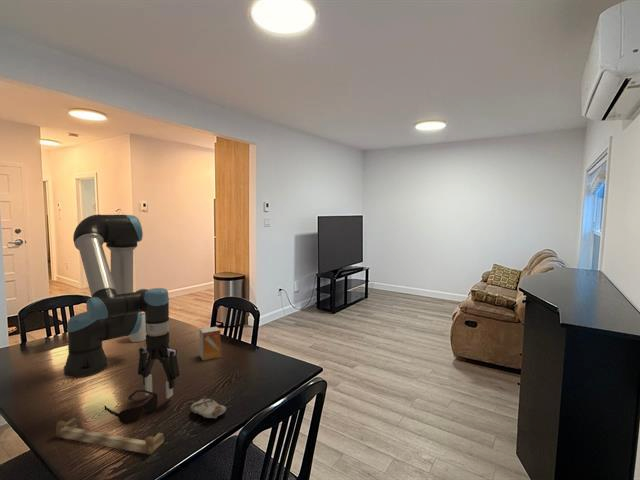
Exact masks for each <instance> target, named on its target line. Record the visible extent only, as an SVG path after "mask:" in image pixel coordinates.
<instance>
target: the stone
mask: <svg viewBox="0 0 640 480" xmlns="http://www.w3.org/2000/svg"><path fill="white" fill-rule="evenodd" d="M190 409H191V411H192V413H194V414H198V415H200V416H202V417H203V418H205V419H206V418H207V419H217V418H218V416H221V415H224V413H225V412H226V410H227V407H226V405H225V406H224V405H222V404H219V403H218V401H215V400H214V399H210V398H205V397H203V398H202V397H201V398H199V400H198V401H196V402H193V403H192V404H191V405H190Z"/></svg>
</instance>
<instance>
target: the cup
mask: <svg viewBox="0 0 640 480" xmlns="http://www.w3.org/2000/svg"><path fill="white" fill-rule="evenodd" d="M141 313H142V314H141V316H142V323H141V327H140V329H139V331H138V332H137V333H135V334H132V335H129V336H128V337H129V342H131V343H132V342H133V343H138V342H144V341H146V335H147V334H146V323H145V312H141Z"/></svg>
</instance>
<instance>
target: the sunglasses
mask: <svg viewBox="0 0 640 480" xmlns="http://www.w3.org/2000/svg"><path fill="white" fill-rule="evenodd" d="M137 393H144V394H145V393H148V394H149V395H151V396H152V397H150V399H149V400H148V401H146V402H145V403H144V404H142V405H139V406H134V407H131V408H126V409H123V410H122V411H120V412H116V411H115V410H112V409H110V408H109V407H107V406H106V405H104V410H105V411H107V412H109V414H111V415H113V416H115V417H117V418H118V421H119V422H120V423H121V424H125V425H128V424H131V423H134V422H137V421H138V420H139V418H140V416H141V413H142V410H143V411H144V412H145V413H146V414H152V412H154V411H155V409H157V405H158V394H157V393H155V392H153V391H152V392H150V391H145V389H144V390H143V389H138V390H135V391H133V392H131V394H130V395H128V399H132V398H133V397H134V396H135V394H137Z"/></svg>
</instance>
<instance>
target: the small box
mask: <svg viewBox="0 0 640 480" xmlns="http://www.w3.org/2000/svg"><path fill="white" fill-rule="evenodd" d="M199 358H201V360H202V362H203V361H208V360H212V359H217V358H221V329H220V328H219V327H218V326H212V327H211V326H210V327H205V328H199Z"/></svg>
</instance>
